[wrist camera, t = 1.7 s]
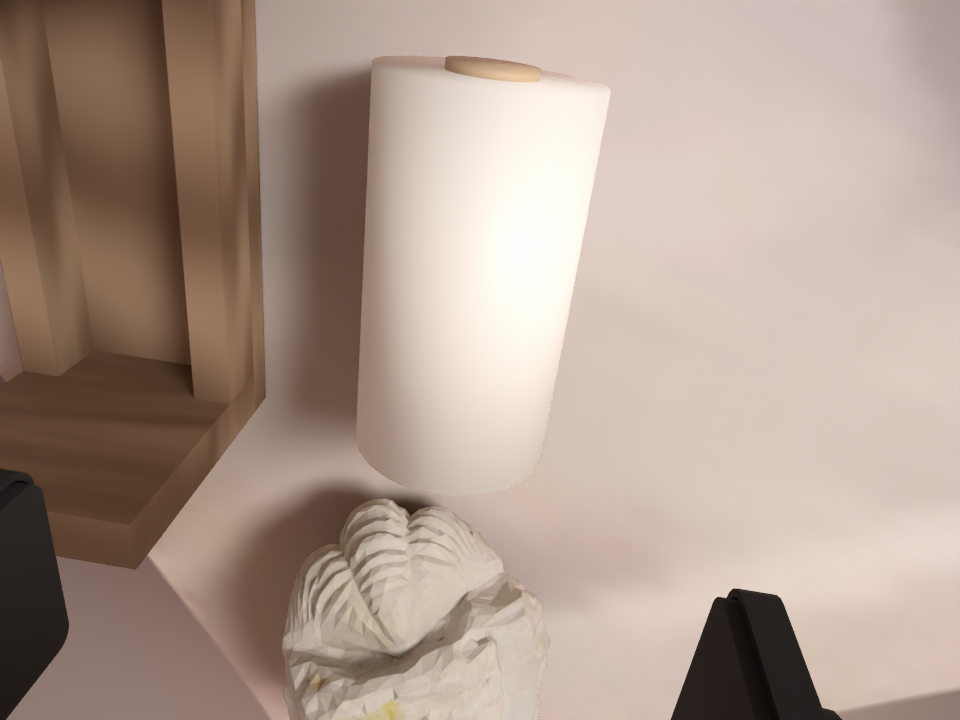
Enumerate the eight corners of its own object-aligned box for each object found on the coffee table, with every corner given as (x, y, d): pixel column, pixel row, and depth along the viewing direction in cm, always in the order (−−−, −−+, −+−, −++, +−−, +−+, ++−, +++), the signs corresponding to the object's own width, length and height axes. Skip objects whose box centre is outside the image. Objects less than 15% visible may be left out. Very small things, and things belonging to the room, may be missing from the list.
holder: (1, -144, 19) (-391, -241, 11) (251, -112, 19) (26, -189, 11) (84, 368, 27) (-120, 525, 19) (265, 397, 27) (136, 569, 19)
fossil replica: (451, 426, 27) (272, 521, 31) (372, 584, 19) (151, 679, 23) (621, 649, 29) (436, 707, 34) (608, 859, 22) (374, 900, 26)
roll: (411, 41, 21) (335, 53, 16) (616, 71, 20) (608, 94, 15) (388, 382, 26) (326, 477, 21) (550, 414, 25) (527, 522, 20)
